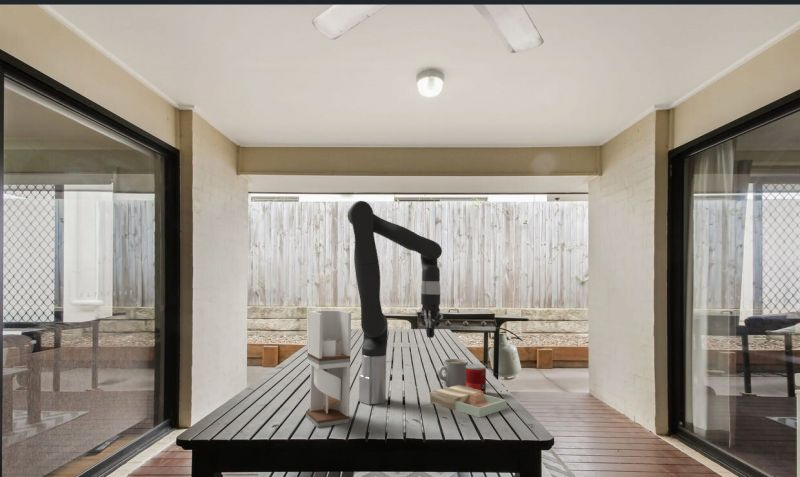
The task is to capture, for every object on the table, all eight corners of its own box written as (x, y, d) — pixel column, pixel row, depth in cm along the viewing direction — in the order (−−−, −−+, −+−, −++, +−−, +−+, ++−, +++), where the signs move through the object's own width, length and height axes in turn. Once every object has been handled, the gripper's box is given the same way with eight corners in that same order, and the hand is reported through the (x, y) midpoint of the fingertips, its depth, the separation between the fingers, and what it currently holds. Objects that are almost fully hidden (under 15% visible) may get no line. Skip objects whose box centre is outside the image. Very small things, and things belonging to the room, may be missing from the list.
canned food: (485, 397, 181) (485, 368, 182) (465, 395, 182) (465, 367, 183) (486, 392, 188) (486, 364, 189) (466, 390, 190) (466, 363, 191)
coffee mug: (463, 381, 206) (463, 358, 207) (470, 387, 196) (470, 363, 197) (434, 382, 204) (434, 359, 204) (440, 388, 194) (440, 363, 194)
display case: (306, 417, 154) (308, 311, 156) (336, 412, 159) (338, 310, 161) (317, 427, 144) (320, 314, 146) (349, 422, 149) (351, 312, 151)
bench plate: (454, 410, 163) (454, 398, 164) (430, 402, 172) (430, 391, 172) (482, 401, 174) (482, 391, 174) (458, 395, 183) (458, 384, 183)
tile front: (475, 404, 164) (476, 411, 163) (487, 407, 160) (487, 414, 160) (484, 401, 167) (484, 408, 167) (496, 404, 163) (496, 411, 163)
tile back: (469, 408, 166) (475, 410, 164) (469, 394, 166) (475, 395, 164) (478, 405, 169) (484, 407, 167) (478, 391, 169) (483, 393, 168)
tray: (479, 417, 155) (479, 408, 156) (455, 410, 163) (455, 401, 164) (506, 408, 166) (506, 400, 166) (482, 402, 174) (482, 393, 174)
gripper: (412, 292, 184) (411, 336, 183) (436, 293, 175) (436, 340, 173) (425, 291, 189) (425, 334, 188) (449, 293, 180) (449, 338, 178)
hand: (430, 337), depth 181 cm, fingers closed
